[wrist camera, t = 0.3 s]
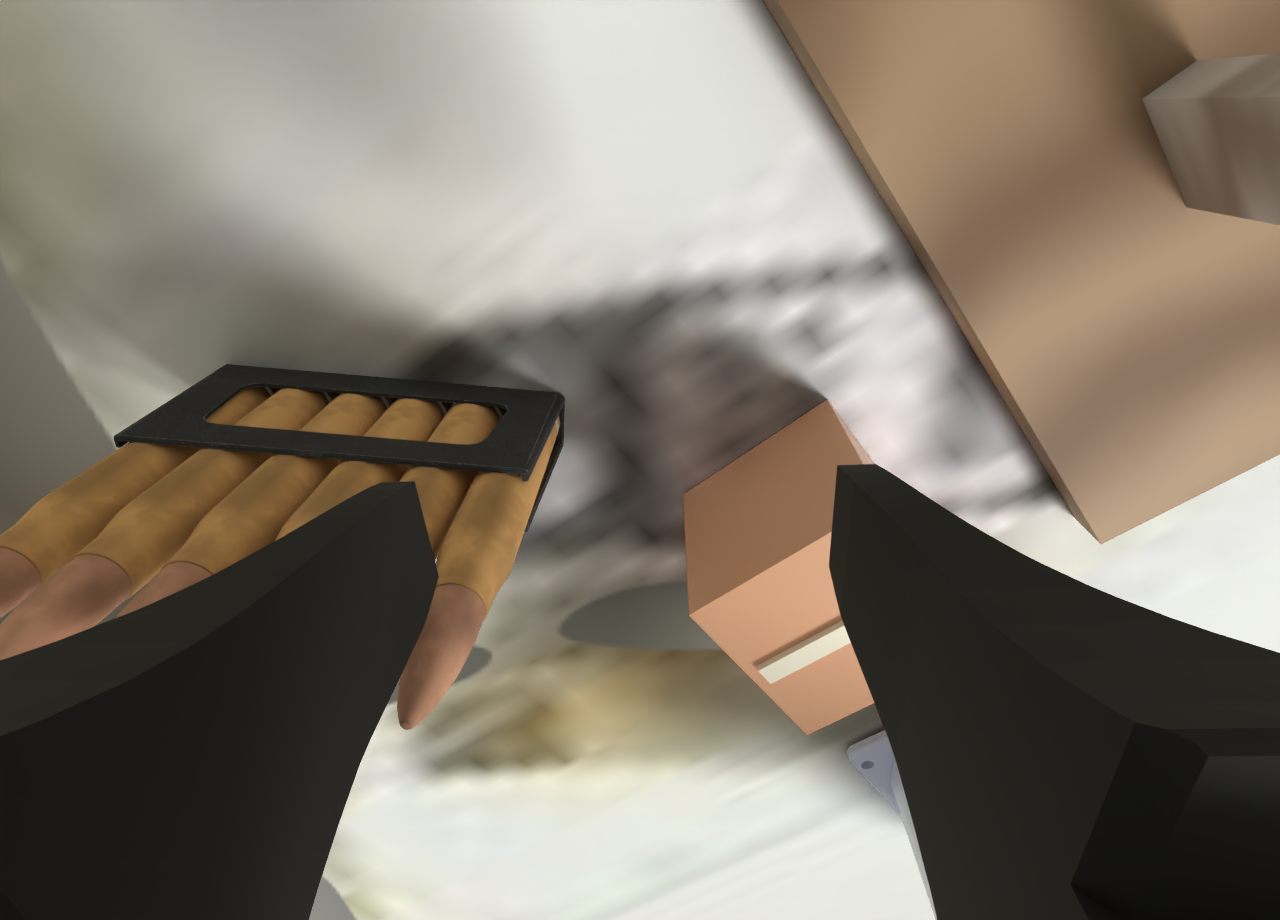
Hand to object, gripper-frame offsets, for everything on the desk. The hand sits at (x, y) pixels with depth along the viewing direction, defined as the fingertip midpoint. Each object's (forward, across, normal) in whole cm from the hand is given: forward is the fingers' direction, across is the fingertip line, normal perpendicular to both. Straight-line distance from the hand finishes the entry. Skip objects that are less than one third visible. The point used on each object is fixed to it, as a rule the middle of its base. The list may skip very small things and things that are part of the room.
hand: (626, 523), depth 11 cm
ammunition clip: (+10, +8, +2) cm, 13 cm away
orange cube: (+10, -5, +6) cm, 12 cm away
